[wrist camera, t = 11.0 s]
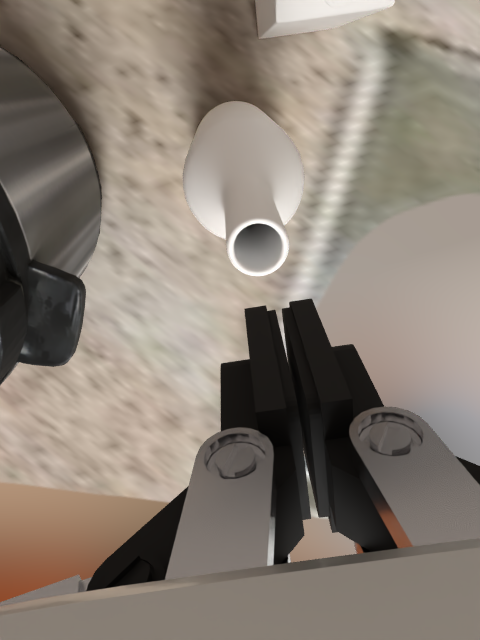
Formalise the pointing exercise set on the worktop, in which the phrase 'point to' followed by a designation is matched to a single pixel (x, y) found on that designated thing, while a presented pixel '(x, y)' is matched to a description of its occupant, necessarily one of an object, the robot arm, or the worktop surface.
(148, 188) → the worktop surface
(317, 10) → the milk carton
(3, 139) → the pressure cooker
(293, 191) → the bottle
